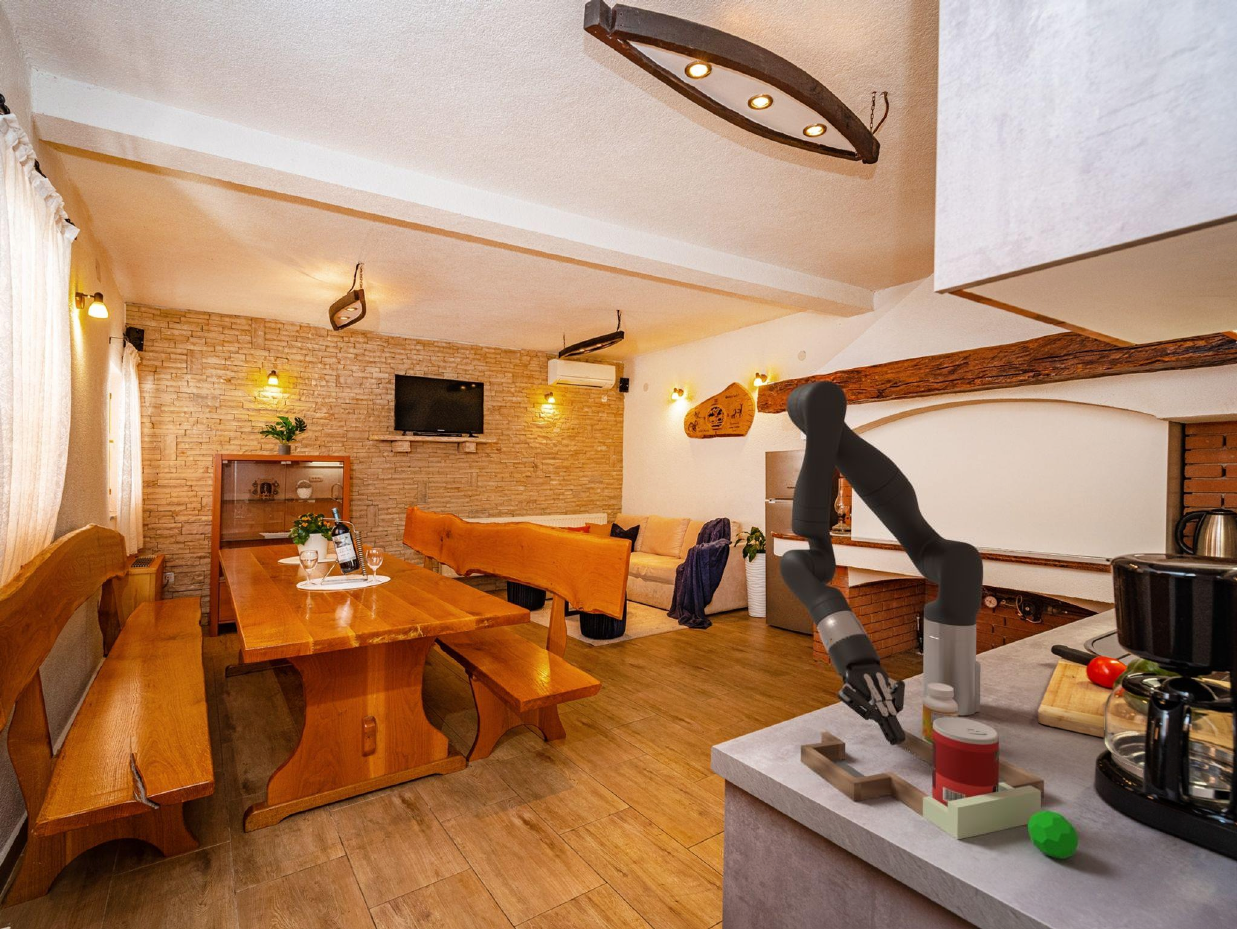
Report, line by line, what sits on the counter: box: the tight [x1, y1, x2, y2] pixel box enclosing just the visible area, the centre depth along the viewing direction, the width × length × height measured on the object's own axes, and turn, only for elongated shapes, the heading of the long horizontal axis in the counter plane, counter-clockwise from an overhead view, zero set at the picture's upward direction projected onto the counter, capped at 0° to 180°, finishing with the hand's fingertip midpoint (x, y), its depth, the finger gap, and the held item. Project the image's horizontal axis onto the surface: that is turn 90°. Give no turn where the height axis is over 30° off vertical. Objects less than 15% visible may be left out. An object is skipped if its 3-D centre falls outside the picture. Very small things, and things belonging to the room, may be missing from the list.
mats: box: [830, 758, 1007, 783], centre depth 92 cm, size 17×24×1 cm
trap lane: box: [800, 729, 1045, 817], centre depth 94 cm, size 23×27×2 cm
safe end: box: [922, 782, 1042, 840], centre depth 82 cm, size 6×14×4 cm, turn 109°
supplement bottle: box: [921, 683, 959, 745], centre depth 105 cm, size 5×5×10 cm
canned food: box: [931, 717, 1000, 807], centre depth 85 cm, size 8×8×11 cm
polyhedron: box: [1027, 809, 1079, 860], centre depth 74 cm, size 5×5×5 cm
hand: (899, 742), depth 96 cm, fingers closed
